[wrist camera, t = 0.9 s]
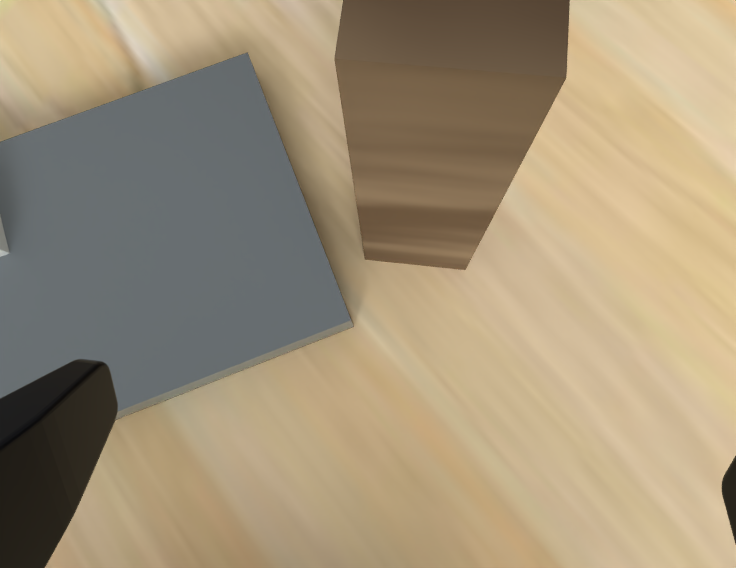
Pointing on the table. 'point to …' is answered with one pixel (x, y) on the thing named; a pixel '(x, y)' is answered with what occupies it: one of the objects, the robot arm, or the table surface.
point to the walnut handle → (442, 115)
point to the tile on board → (3, 241)
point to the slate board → (160, 241)
